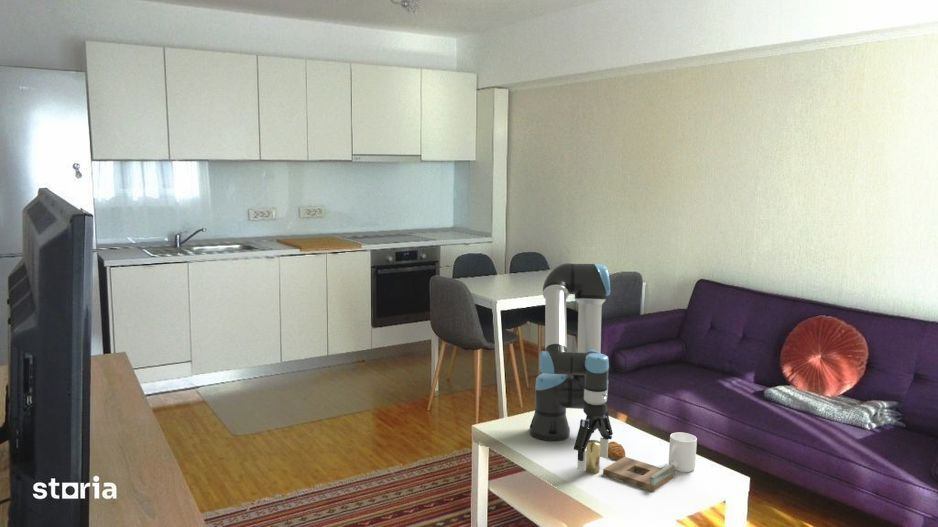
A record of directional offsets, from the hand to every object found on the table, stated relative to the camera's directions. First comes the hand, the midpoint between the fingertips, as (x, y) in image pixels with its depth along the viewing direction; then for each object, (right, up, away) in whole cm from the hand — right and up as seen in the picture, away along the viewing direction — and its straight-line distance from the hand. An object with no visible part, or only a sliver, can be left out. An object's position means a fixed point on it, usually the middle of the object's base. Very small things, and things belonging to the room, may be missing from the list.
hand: (592, 463), depth 236 cm
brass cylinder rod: (0, -3, 0) cm, 3 cm away
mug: (+30, -3, +4) cm, 30 cm away
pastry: (+11, -2, +15) cm, 18 cm away
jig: (+14, -3, -3) cm, 15 cm away
